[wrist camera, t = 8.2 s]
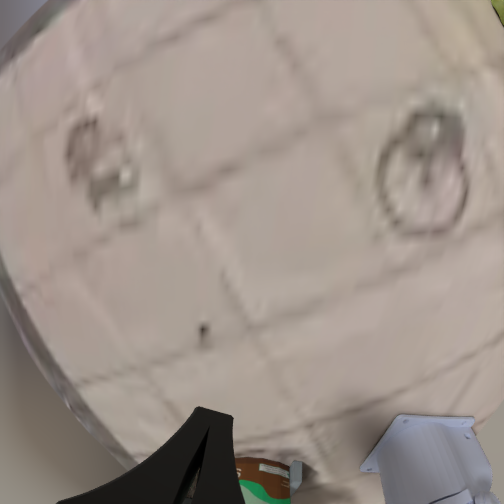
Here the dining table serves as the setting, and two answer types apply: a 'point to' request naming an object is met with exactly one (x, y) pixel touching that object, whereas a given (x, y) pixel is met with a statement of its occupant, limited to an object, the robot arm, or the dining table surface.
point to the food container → (263, 481)
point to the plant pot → (499, 8)
